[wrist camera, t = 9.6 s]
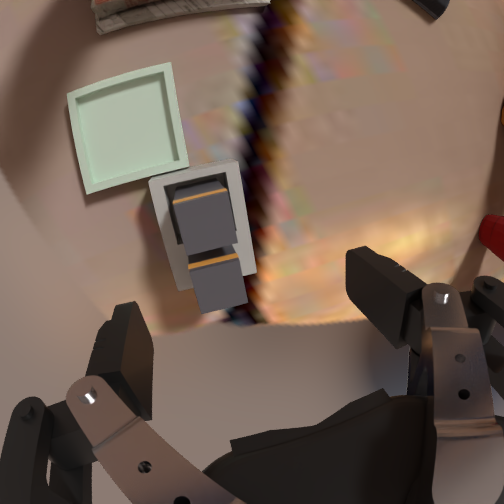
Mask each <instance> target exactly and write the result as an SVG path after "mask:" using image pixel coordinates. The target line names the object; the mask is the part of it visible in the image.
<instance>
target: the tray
mask: <svg viewBox="0 0 504 504" xmlns="http://www.w3.org/2000/svg"><path fill="white" fill-rule="evenodd" d="M67 99H68V107H69V113H70V120H71V126H72V131H73V137H74V142H75V147H76V152H77V156H78V161H79V166H80V170H81V174H82V178H83V182H84V186H85V190H86V194H90V193H93V192H97V191H100V190H103V189H106V188H110V187H113V186H116V185H120V184H123V183H127V182H130V181H134V180H138V179H141V178H145V177H149V176H153V175H157V174H160V173H164V172H169V171H173V170H177V169H181V168H185V167H190V166H189V161H188V156H187V151H186V146H185V141H184V135H183V130H182V125H181V119H180V114H179V108H178V102H177V96H176V90H175V84H174V78H173V72H172V66H171V62H168V63H164V64H159V65H155V66H151V67H147V68H143V69H139V70H135V71H132V72H128V73H125V74H121V75H118V76H115V77H112V78H108V79H105V80H102V81H99V82H96V83H94V84H91V85H88V86H85V87H83V88H80V89H77V90H75V91H72V92H70V93H67Z"/></svg>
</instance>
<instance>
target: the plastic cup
mask: <svg viewBox="0 0 504 504" xmlns="http://www.w3.org/2000/svg"><path fill="white" fill-rule="evenodd" d="M479 240H480V241H481V243H482V244H483V245H484V246H486V247H487V248H488V249H490V250H491V251H492V253H494V254H495V255H496V256H497V257H499V258H500V259H501V260H502V261H503V262H504V216H497V215H492V214H491V215H489V214H488V215H486V216H485V217H484V219H483V220H482V222H481V225H480V229H479Z"/></svg>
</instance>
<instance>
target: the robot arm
mask: <svg viewBox="0 0 504 504" xmlns="http://www.w3.org/2000/svg"><path fill="white" fill-rule="evenodd" d="M346 291H347V295H348V297H349V299H350V300H351V301H352V302H353V303H354V304H355V305H356V306H357V308H358V309H359V310H360V311H361V312H362V313H363V314H364V315H365V316H366V317H367V318H368V319H369V320H370V321H371V322H372V323H373V324H374V326H375V327H376V328H377V329H378V330H379V331H380V332H381V333H382V334H383V335H384V336H385V337H386V339H387V340H388V341H389V342H390V343H391V344H392V345H393V346H394V347H395V348H396V349H399V348H401V347H402V346H405V345H407V344H409V345H410V350H409V359H408V380H407V393H406V395H399V396H392V397H389V396H388V394H387V393H386V392H385V390H384V389H383V388H382V389H380V390H378V391H375V392H373V393H371V394H369V395H367V396H364V397H362V398H360V399H358V400H355V401H353V402H350V403H349V404H347V405H346V406H344V407H343V408H341V409H340V410H339V411H337V412H336V413H334V414H333V415H331V416H330V417H328V418H327V419H325V420H323V421H322V422H321V423H319V424H317V425H314V426H308V427H301V428H290V429H279V430H269V431H266V432H262V433H258V434H254V435H251V436H246V437H242V438H238V439H233V440H230V443H231V447H232V451H231V452H229V453H227V454H225V455H223V456H222V457H220V458H218V459H217V460H215V461H214V462H213V463H211V464H210V465H209V466H208V467H206V468H205V470H203V471H202V472H201V471H200V470H199V469H197V468H196V467H195V466H194V465H192V464H191V463H190V462H189V461H188V460H186V459H185V458H184V457H183V456H182V455H181V454H179V453H178V452H177V451H176V450H175V449H174V448H173V447H171V446H170V445H169V444H168V443H167V442H166V441H165V440H164V439H163V438H162V437H161V436H159V435H158V434H157V433H156V432H155V431H154V430H153V429H152V428H151V427H150V426H149V425H148V424H147V423H146V422H145V421H149V420H152V380H153V354H154V348H153V342H152V338H151V335H150V333H149V330H148V328H147V326H146V323H145V321H144V318H143V316H142V314H141V311H140V309H139V306H138V304H137V303H136V302H135V301H133V302H128V303H124V304H119V305H116V306H115V309H114V312H113V315H112V319H111V320H109V321H106V322H105V323H104V324H103V326H102V327H101V328H100V329H99V331H98V334H97V337H96V340H95V341H96V342H95V343H94V347H93V351H92V353H91V357H90V360H89V364H88V368H87V371H86V375H85V377H83V378H81V379H79V380H77V381H76V382H74V384H72V385H71V387H70V388H69V390H68V392H67V394H66V400H64V401H61V402H59V403H56V404H53V405H51V406H48V407H47V406H46V405H45V404H44V403H43V401H42V400H41V399H40V398H38V397H28V398H25V399H23V400H22V401H21V402H19V403H18V405H17V406H16V407H15V408H14V410H13V412H12V415H11V419H10V422H9V426H8V429H7V433H6V437H5V441H4V445H3V449H2V453H1V458H0V504H92V484H91V483H92V479H91V477H92V462H95V461H99V462H100V464H101V465H102V466H103V468H104V469H105V470H106V472H107V473H108V474H109V475H110V477H111V478H112V480H113V481H114V482H115V483H116V485H117V486H118V487H119V488H120V490H121V491H122V492H123V493H124V494H125V496H126V497H127V498H128V499H129V500H130V501H131V502H132V504H504V417H501V416H497V415H494V407H493V398H492V391H491V386H492V387H493V388H494V389H495V390H496V391H497V392H498V393H499V395H500V396H501V397H502V398H503V399H504V346H503V345H502V344H500V343H499V342H498V341H497V340H496V339H495V338H494V337H493V336H492V335H491V334H492V331H493V329H494V326H495V323H496V321H497V322H498V323H499V324H500V325H501V326H503V327H504V283H503V282H501V281H500V280H498V279H496V278H494V277H491V276H479V277H477V278H476V279H475V280H474V283H473V287H472V291H466V292H460V293H459V292H458V291H457V290H456V289H455V288H454V287H452V286H450V285H448V284H444V283H431V284H426V283H425V282H423V281H422V280H421V279H419V278H418V277H416V276H415V275H414V274H412V273H411V272H409V271H408V270H407V271H406V269H405V268H404V267H402V266H401V265H400V266H399V264H398V263H397V262H395V261H394V260H392V259H391V258H388V257H385V256H382V255H379V254H377V253H376V252H374V251H373V250H371V249H370V248H368V247H367V246H362V247H358V248H355V249H351V250H348V251H347V253H346ZM48 459H49V460H50V461H51V470H50V482H49V486H48V484H47V480H46V473H47V464H48Z"/></svg>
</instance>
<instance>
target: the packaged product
mask: <svg viewBox="0 0 504 504" xmlns="http://www.w3.org/2000/svg"><path fill="white" fill-rule="evenodd" d="M269 3H270V0H92V2H91V9H92V11H93V13H95V20H96V29H97V33H98V34H100V35H103V34H106V33H109V32H112V31H115V30H118V29H121V28H124V27H128V26H132V25H136V24H141V23H145V22H150V21H155V20H160V19H164V18H169V17H175V16H181V15H188V14H194V13H201V12H208V11H217V10H226V9H235V8H246V7H259V6H266V5H268V4H269Z"/></svg>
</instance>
